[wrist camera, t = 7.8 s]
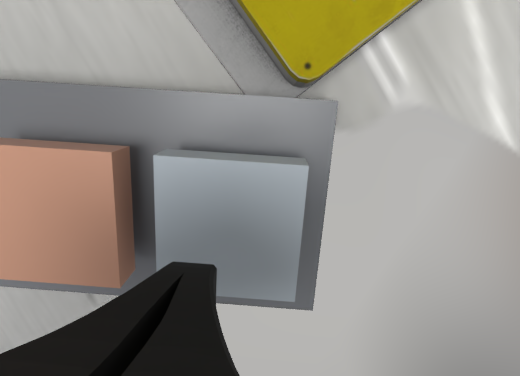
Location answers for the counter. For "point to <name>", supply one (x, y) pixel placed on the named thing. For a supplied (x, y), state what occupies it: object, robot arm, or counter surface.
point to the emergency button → (287, 37)
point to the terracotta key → (66, 213)
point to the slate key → (232, 218)
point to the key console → (181, 138)
